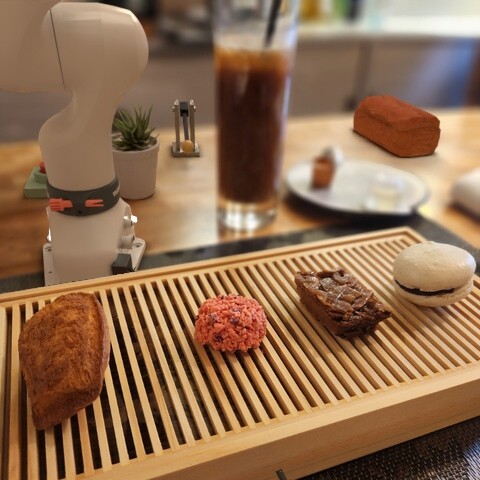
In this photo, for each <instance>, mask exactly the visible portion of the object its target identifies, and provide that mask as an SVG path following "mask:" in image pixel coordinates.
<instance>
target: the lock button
mask: <svg viewBox="0 0 480 480" xmlns="http://www.w3.org/2000/svg"><path fill="white" fill-rule="evenodd" d="M39 166H40V170H41V173H44V174H46V170H45V166H44V162H43V161H40V162H39V165H38V167H39Z"/></svg>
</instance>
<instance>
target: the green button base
mask: <svg viewBox="0 0 480 480" xmlns="http://www.w3.org/2000/svg"><path fill="white" fill-rule="evenodd" d="M46 179H47V174H44V173H41V170H40V166H39V165H38V166H37V167H33V169H32V170H31V173H30V175H29V177H28V179H27V181H26V183H25V185H24V187H23V191H24V195H25V198H26V199H42V198H45V199H48V196H47V190H46V188H47V186H46Z"/></svg>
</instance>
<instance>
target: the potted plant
mask: <svg viewBox="0 0 480 480" xmlns="http://www.w3.org/2000/svg"><path fill="white" fill-rule="evenodd" d="M131 104H132V107H133V110H134V114H135V121H134V119H133V117H132V115H131V114H130V113H129V112H128V111H124V110H123V109H121V112H122V113H123V114H124V115H125V116H126V118H127V119H128V121H129V123H128V122H127V121H126V120H125V118H124V117H123V114H122V113H121V112H120V110H119V109H118V108H117V110H116V111H117V113H119V116H120V118H121V119H118V118H116V116H114V119H113V124H112V125H113V126H115V128H116V129H118V131H119V133H113V134H112V154H113V163H114V171H115V173H116V174H117V176H118V180H119V183H120V197H121V198H122V199H125V200H143V199H147V198H149V197H151V196H152V195H153V194H154V193H155V191H156V186H157V185H156V183H157V173H158V172H157V171H158V158H159V157H158V156H159V151H160V144H161V143H160V140H159V138H158V137H159V136H160V133H158V134H157V135H156V136H154V135H152V133H153V132H154V131H155V129H157V124H155V125H154V126H153V127H150V129H149V130H148V126H149V123H150V118H151V112H152V109H153V103H152V104H151V107H150V108H149V110H148V114H147V117H146V111H144V112H143V115H142V105H141V106H140V105H138V110H139V113H138V110H137V109H136V107H135V105H134V104H133V102H131Z"/></svg>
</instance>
